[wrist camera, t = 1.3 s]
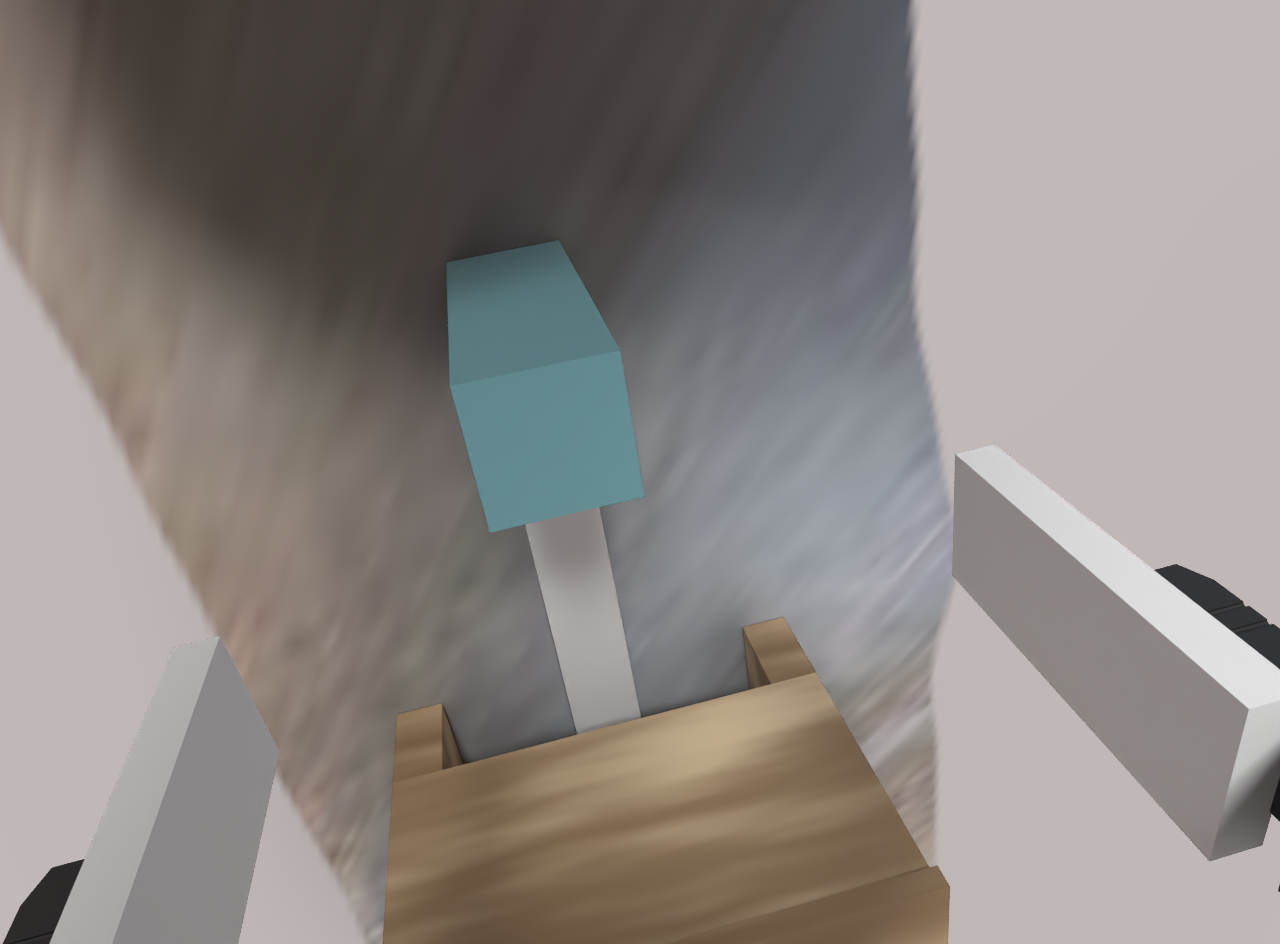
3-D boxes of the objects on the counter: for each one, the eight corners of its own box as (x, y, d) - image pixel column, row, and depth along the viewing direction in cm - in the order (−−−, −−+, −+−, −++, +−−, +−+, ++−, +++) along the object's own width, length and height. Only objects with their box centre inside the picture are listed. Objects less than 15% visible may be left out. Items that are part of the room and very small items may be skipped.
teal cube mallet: (446, 262, 30) (450, 386, 20) (558, 239, 31) (620, 350, 20) (579, 783, 43) (625, 1028, 32) (658, 762, 43) (728, 997, 33)
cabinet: (391, 712, 39) (366, 1057, 26) (787, 612, 41) (950, 886, 28) (469, 916, 45) (480, 1269, 32) (804, 822, 47) (941, 1120, 34)
